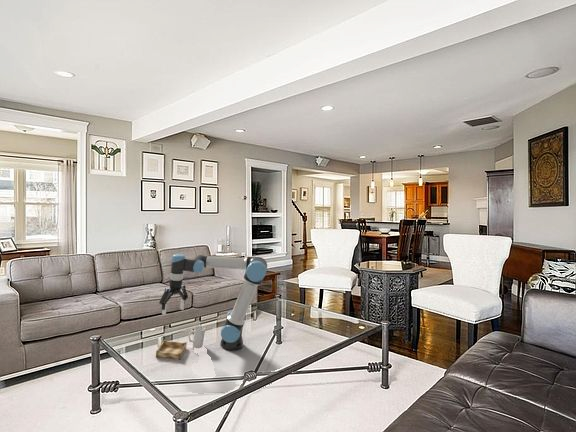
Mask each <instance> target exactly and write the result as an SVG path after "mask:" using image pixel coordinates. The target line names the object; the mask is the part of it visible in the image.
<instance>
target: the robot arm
mask: <svg viewBox="0 0 576 432" xmlns="http://www.w3.org/2000/svg"><path fill="white" fill-rule="evenodd" d="M170 264H171V265H170V266H171V268H170V276H169V278H170V279H169V287H168V288H167V287H165V288H164V292H163V294H162V296H161V298H160V300H159V302H158V304H159V305H161V315H164V316H166V314H167V306H168V305H167V303H168V302H169V300H170V299H171V297H173V296H174V295H179V297H180V298H181V299H180V303H179V309H180V310H181V311H184V309H185V304H186V300H188V298H189V295H188V292H187V290H186V285H185V284H183V278H184V272H190V273H196V274H198V273H199V274H201V273H203V272H204V269H205V268H206V269H208V268H210V269H223V270H225V269H227V270H241V271H242V270H244V271H245V273H244V275H243V280H244V282H243V284H242V287H241V289H240V291H239V294H238V296H237V299H236V301H235V304H234V306H233V309H232V310H229V311H228V312H227V313H226V319H225V321H224V323H223V326H222V328H221V330H220V337H221V339H220V342H219V344H220V347H221V348H222V349H224V350H227V351H233V352H234V351H239V350H241V349H242V348H243V346H244V341H243V340H244V339H243V330H244V329H243V328H244V325H245V317H246V315H247V312H248V311H249V307H250V305H251V302H252V300H253V297H254V295H255V293H256V291H257V288H258V286H260V285H262V283H263V281H264V278H265V277H266V274H267V270H268V262H267V260H266V259H265V258H263V257H261V256H246V257H232V256H230V257H229V256H213V255H211V256H210V255H209V256H208V255H204V254H198V255H196V256H195V257H194V258H191V259H189V258H186V256H185V255H184V254H181V253H175V254H173V255H172V259H171V263H170Z"/></svg>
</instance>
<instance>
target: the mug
mask: <svg viewBox="0 0 576 432" xmlns="http://www.w3.org/2000/svg"><path fill="white" fill-rule="evenodd" d="M205 332H206V327H204V326H201V325H198V326H195V327H194V329H191V330H190V331H189V333H188V336H187V337H188V341H189V343H192V347H193V348H194V349H200V348H201V349H202V347H203V344H204V340H205ZM191 334H193V339H192V338H191Z"/></svg>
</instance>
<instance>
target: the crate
mask: <svg viewBox="0 0 576 432" xmlns="http://www.w3.org/2000/svg"><path fill="white" fill-rule="evenodd" d="M187 343H188V342H186V341H185V342H180V341H171V340H166V339H163V341H162V343H161V344H160V345H159V347H158V348H157V350H156V353H155V358H160V359H169V360H178V361H181V359H182V357H183V355H184V354H185V351H186V349H187Z"/></svg>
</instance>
